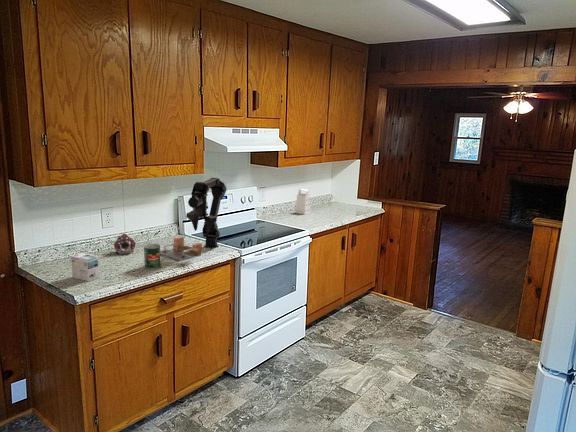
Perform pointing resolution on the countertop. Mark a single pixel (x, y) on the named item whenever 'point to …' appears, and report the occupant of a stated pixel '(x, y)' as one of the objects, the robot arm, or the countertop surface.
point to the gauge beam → (190, 249)
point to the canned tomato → (152, 256)
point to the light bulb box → (85, 266)
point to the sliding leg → (176, 243)
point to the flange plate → (174, 255)
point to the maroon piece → (124, 245)
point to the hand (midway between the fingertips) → (201, 231)
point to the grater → (302, 203)
